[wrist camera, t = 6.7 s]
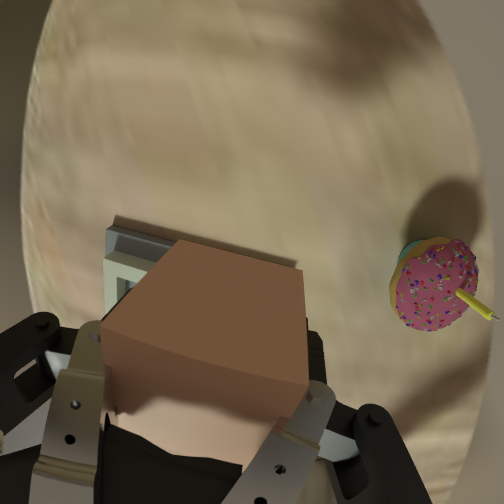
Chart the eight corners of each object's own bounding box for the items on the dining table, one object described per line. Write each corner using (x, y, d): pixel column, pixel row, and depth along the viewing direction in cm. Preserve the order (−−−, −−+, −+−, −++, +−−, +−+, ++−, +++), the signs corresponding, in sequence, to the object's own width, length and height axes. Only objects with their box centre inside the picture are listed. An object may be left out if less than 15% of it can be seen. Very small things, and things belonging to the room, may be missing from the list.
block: (302, 270, 12) (308, 385, 6) (270, 361, 14) (257, 472, 8) (179, 238, 12) (99, 325, 6) (169, 334, 14) (117, 431, 8)
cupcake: (425, 202, 23) (503, 255, 12) (466, 261, 25) (531, 328, 14) (360, 266, 26) (398, 353, 15) (408, 316, 28) (448, 400, 17)
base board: (289, 271, 27) (289, 301, 23) (255, 374, 33) (250, 408, 28) (112, 225, 28) (82, 244, 23) (113, 331, 33) (93, 357, 29)
